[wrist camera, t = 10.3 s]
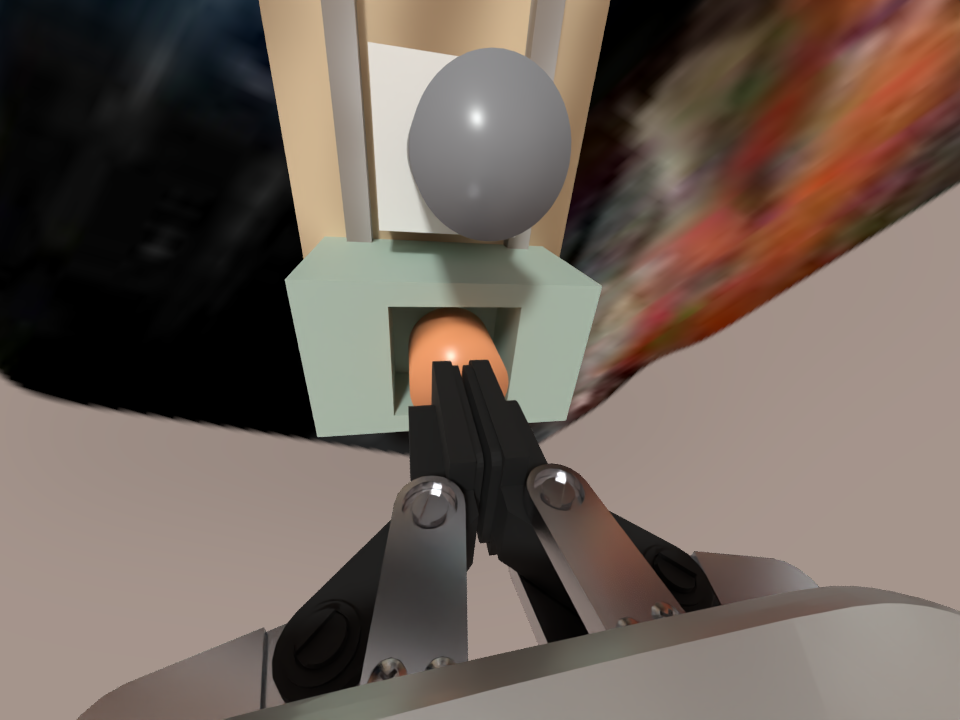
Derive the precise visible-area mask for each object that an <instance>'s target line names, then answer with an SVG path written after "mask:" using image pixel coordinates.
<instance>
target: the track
mask: <svg viewBox="0 0 960 720" xmlns="http://www.w3.org/2000/svg"><path fill="white" fill-rule="evenodd" d="M609 3H610V0H259V4H260V10H261V16H262V21H263V27H264V33H265V39H266V44H267V50H268V56H269V62H270V67H271V73H272V79H273V85H274V90H275V96H276V102H277V108H278V113H279V119H280V125H281V131H282V136H283V142H284V148H285V154H286V159H287V165H288V171H289V177H290V182H291V188H292V194H293V200H294V205H295V211H296V217H297V222H298V228H299V234H300V240H301V245H302V251H303V257H304V258H305V257H306V256H307V255H308V254H309V253H310V252H311V251H312V250H313V249H314V248H315V247H316V246H317V244H318V243H319V242H320V241H321V240H322V239H323V238H324V237H325V236H326V237H346V238H347V242H369V243H372V240H373V239H392V240H414V241H436V242H458V243H480V244H502V245H504V246H505V247H507V248H508V249H528V247H529V246H543V247H544V248H546V249H547V250H549V251H550V252H552V253H553V254H555V255H556V256H558V257H559V256H560V251H561V246H562V241H563V236H564V231H565V226H566V221H567V216H568V211H569V206H570V200H571V195H572V190H573V185H574V180H575V175H576V170H577V165H578V160H579V155H580V150H581V145H582V140H583V135H584V130H585V125H586V120H587V114H588V109H589V104H590V99H591V94H592V89H593V84H594V79H595V74H596V69H597V64H598V59H599V54H600V49H601V44H602V39H603V33H604V28H605V23H606V18H607V13H608V8H609ZM368 42H372V43H378V44H385V45H391V46H397V47H403V48H410V49H416V50H422V51H429V52H435V53H441V54H447V55H454V56H461V55H463V54H465V53H467V52H470V51H473V50H477V49H482V48H504V49H507V50H511V51H515V52H517V53H519V54H522V55H524V56H526V57H527V58H529V59H530V60H532V61H533V62H535V63H536V64H537V65H538V66H540V67H541V68H542V69H543V70H544V71H545V72H546V73H547V75H548V76H549V77H550V78H551V80H552V81H553V82H554V84H555V86H556V87H557V89H558V91H559V92H560V95H561V97H562V99H563V101H564V104H565V107H566V110H567V113H568V117H569V123H570V128H571V156H570V164H569V168H568V172H567V176H566V179H565V182H564V185H563V187H562V189H561V191H560V193H559V195H558V197H557V199H556V201H555V202H554V204H553V205H552V207H551V208H550V209H549V211H548V212H547V213H546V214H545V215H544V216H543V217H542V218H541V220H540V221H539V222H537V223H536V224H535V225H534V226H532V227H531V228H530V229H528V230H526V231H525V232H523V233H521V234H519V235H517V236H515V237H512V238H508V239H505V240H499V241H479V240H474V239H470V238H467V237H465V236H462V235H460V234H440V233H420V232H400V231H380V230H379V219H378V203H377V186H376V170H375V154H374V138H373V122H372V105H371V89H370V73H369V57H368Z"/></svg>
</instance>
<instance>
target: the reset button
mask: <svg viewBox="0 0 960 720" xmlns="http://www.w3.org/2000/svg"><path fill="white" fill-rule="evenodd" d="M408 351H409V383H410V397H411V401H412V403H413V405H414V406H421V405H431V397H432V361H451V362H452V365H458V366H459V370H460V373H461V377H462V367H463V365H469V361H470V360H489V362H490V365H491V367H492V369H493V372H494V374H495V376H496V378H497V381H498V383H499V385H500V388H501V390H502V392H503V395H504V397H505V396H506V393H507V389H508V374H507V370H506V368H505V366H504V364H503V362H502V360H501V357H500V355H499V353H498V351H497V349H496V347H495V345H494V343H493V341H492V339H491V337H490V335H489V332H488V330H487V328H486V326H485V325H484V323H483V322H482V320H481V319H480V318H479V317H478V316H477V315H475V314H474V313H472V312H470V311H468V310H466V309H463V308H458V307H444V308H439V309H436V310H433V311H431V312H429V313H427V314H426V315H424V316H423V317H422V318H421V319H420V320H419V321H418V322H417V323H416V324H415V326H414V327H413V329H412V331H411V333H410V336H409V342H408Z"/></svg>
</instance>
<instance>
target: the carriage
mask: <svg viewBox="0 0 960 720" xmlns="http://www.w3.org/2000/svg"><path fill="white" fill-rule="evenodd" d="M368 57H369V73H370V89H371V105H372V122H373V138H374V154H375V170H376V186H377V203H378V219H379V230H380V231H400V232H420V233H440V234H460V235H462V236H465V237H467V238H470V239H474V240H479V241H499V240H505V239H508V238H512V237H515V236H517V235H519V234H521V233H523V232H525V231H526V230H528V229H530V228H531V227H532V226H534V225H535V224H536V223H537V222H539V221H540V220H541V218H542V217H543V216H544V215H545V214H546V213H547V212H548V211H549V209H550V208H551V207H552V205H553V204H554V202H555V201H556V199H557V197H558V195H559V193H560V191H561V189H562V187H563V185H564V182H565V179H566V176H567V172H568V168H569V164H570V156H571V128H570V123H569V117H568V113H567V110H566V107H565V104H564V101H563V99H562V97H561V95H560V92H559V91H558V89H557V87H556V86H555V84H554V82H553V81H552V80H551V78H550V77H549V76H548V75H547V73H546V72H545V71H544V70H543V69H542V68H541V67H540V66H538V65H537V64H536V63H535V62H533V61H532V60H530V59H529V58H527V57H526V56H524V55H522V54H519V53H517V52H515V51H511V50H507V49H504V48H482V49H477V50H473V51H470V52H467V53H465V54H463V55H461V56H454V55H447V54H441V53H435V52H429V51H422V50H416V49H410V48H403V47H397V46H391V45H385V44H378V43H372V42H368Z"/></svg>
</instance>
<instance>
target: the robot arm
mask: <svg viewBox="0 0 960 720" xmlns="http://www.w3.org/2000/svg"><path fill="white" fill-rule="evenodd" d="M408 416H409V449H410V478H411V482H409V483H408V484H406V485H405V486H404V487H403V488H402V489H401V491H400V492H399V493H398V495H397V498H396V500H395V503H394V507H393V512H392V518H391V520H390V521H389V522H388V523H387V524H386V525H385V526H384V527H383V528H382V529H381V530H380V531H379V532H378V533H377V534H376V535H375V536H374V537H373V538H372V539H371V540H370V541H369V542H368V543H367V544H366V545H365V546H364V547H363V548H362V549H361V550H360V551H359V552H358V553H357V554H356V555H354V556H353V557H352V558H351V559H350V560H349V561H348V562H347V563H346V564H345V565H344V566H343V567H342V568H341V569H340V570H339V571H338V572H337V573H336V574H335V575H334V576H333V577H332V578H331V579H330V580H329V581H328V582H327V583H326V584H325V585H324V586H323V587H322V588H321V589H320V590H319V591H318V592H317V593H316V594H315V595H314V596H313V597H311V599H309V601H307V602H306V604H304V605H303V607H301V608H300V609H299V610H298V611H297V612H296V613H295V615H294V616H293V617H292V618H291V620H290V621H289V622H288V623H287V624H284V625H282V626H279V627H277V628H275V629H272V630H270V631H267V632H266V630H265V628H261V629H258V630H256V631H253V632H251V633H249V634H246V635H244V636H241V637H239V638H236V639H234V640H231V641H229V642H227V643H224V644H222V645H219V646H217V647H214V648H212V649H209V650H207V651H204V652H202V653H199V654H197V655H194V656H192V657H190V658H187V659H185V660H182V661H180V662H177V663H175V664H173V665H170V666H167V667H165V668H163V669H160V670H158V671H155V672H153V673H150V674H148V675H145V676H143V677H140V678H138V679H135V680H133V681H130V682H128V683H126V684H124V685H122V686H120V687H119V688H117V689H115V690H113V691H112V692H109V693H108V694H106V695H104V696H103V697H101V698H100V699H99V700H98V701H97V702H96V703H94V704H93V705H92V706H91V707H90V708H88V709H87V710H86V711H85V712H84V713H83V714H81V715H80V716H79V718H78V719H77V720H960V611H957V610H955V609H952V608H950V607H947V606H944V605H941V604H938V603H935V602H931V601H928V600H925V599H921V598H918V597H913V596H909V595H905V594H901V593H896V592H893V591H886V590H881V589H875V588H868V587H858V586H829V587H819V586H818V585H817V584H816V583H815V582H814V581H813V580H812V579H811V578H810V577H809V576H807V575H806V574H805V573H803V572H802V571H801V570H800V569H798V568H796V567H795V566H793V565H791V564H789V563H787V562H785V561H781V560H776V559H773V558H762V557H752V556H741V555H730V554H720V553H709V552H698V551H694V552H693V554H692V555H691V556H690V555H688V554H687V553H685V552H684V551H682V550H681V549H679V548H677V547H676V546H674V545H672V544H670V543H669V542H667V541H665V540H663V539H661V538H659V537H657V536H655V535H653V534H652V533H650V532H648V531H646V530H644V529H642V528H640V527H639V526H637V525H635V524H633V523H631V522H629V521H627V520H625V519H623V518H622V517H619V516H618V515H616V514H614V513H612V512H610V511H609V510H608V509H607V508H606V507H605V505H604V504H603V503H602V501H601V500H600V499H599V497H598V496H597V495H596V493H595V492H594V491H593V489H592V488H591V487H590V485H589V484H588V483H587V482H586V480H585V479H584V478H583V477H581V475H580V474H578V473H577V472H575V471H574V470H572V469H571V468H568V467H566V466H563V465H558V464H548V463H547V461H546V459H545V457H544V455H543V453H542V451H541V449H540V447H539V445H538V443H537V440H536V438H535V436H534V434H533V432H532V430H531V428H530V426H529V424H528V422H527V420H526V417H525V415H524V413H523V411H522V409H521V407H520V405H519V403H518V402H517V401H516V400H508V401H506V399H505V397H504V395H503V392H502V390H501V388H500V385H499V383H498V381H497V378H496V376H495V374H494V372H493V369H492V367H491V365H490V362H489V360H470V361H469V365H463V367H462V377H461V373H460V370H459V366H458V365H452V362H451V361H432V397H431V405H421V406H408ZM476 532H477V534H478V539H479V542H480V543H487V548H488V552H489V555H496V554H497V555H498V559H499V560H500V561H502V562H503V563H504V564H506V565H508V566H509V572H510V576H511V579H512V582H513V584H514V586H515V589H516V591H517V594H518V596H519V598H520V601H521V604H522V606H523V608H524V611H525V613H526V616H527V618H528V621H529V623H530V625H531V627H532V630H533V633H534V635H535V638H536V640H537V642H538V646H534V647H529V648H524V649H521V650H516V651H511V652H506V653H502V654H497V655H493V656H489V657H484V658H480V659H475V660H471V661H468V637H467V636H468V634H467V633H468V631H467V577H466V575H467V571H468V569H469V568H470V566H471V565H472V563H473V556H474V547H475V540H476Z"/></svg>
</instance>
